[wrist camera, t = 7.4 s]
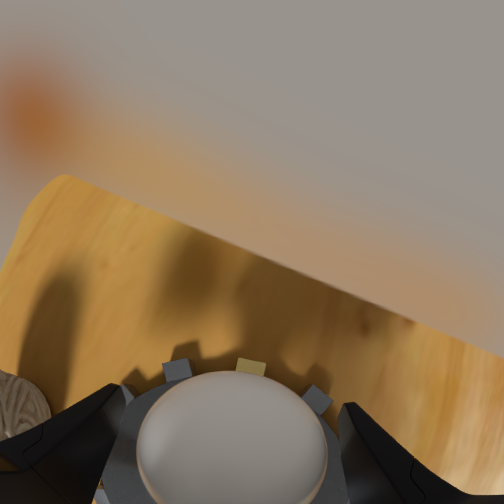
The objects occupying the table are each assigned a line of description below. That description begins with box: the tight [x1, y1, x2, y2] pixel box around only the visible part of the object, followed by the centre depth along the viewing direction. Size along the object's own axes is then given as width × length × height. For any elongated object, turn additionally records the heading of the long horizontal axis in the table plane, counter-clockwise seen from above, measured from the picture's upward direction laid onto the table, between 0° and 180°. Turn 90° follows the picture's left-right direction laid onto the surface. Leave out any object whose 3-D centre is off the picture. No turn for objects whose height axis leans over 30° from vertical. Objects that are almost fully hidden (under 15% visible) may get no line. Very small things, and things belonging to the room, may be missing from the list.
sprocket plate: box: [94, 358, 350, 504], centre depth 12 cm, size 19×19×2 cm
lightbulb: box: [136, 371, 328, 504], centre depth 9 cm, size 6×6×11 cm
